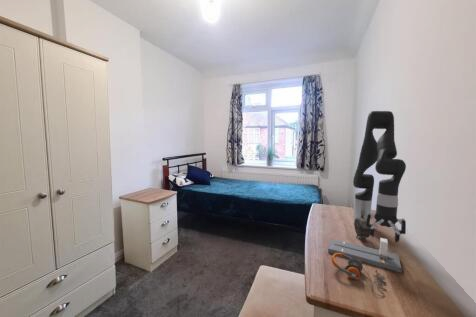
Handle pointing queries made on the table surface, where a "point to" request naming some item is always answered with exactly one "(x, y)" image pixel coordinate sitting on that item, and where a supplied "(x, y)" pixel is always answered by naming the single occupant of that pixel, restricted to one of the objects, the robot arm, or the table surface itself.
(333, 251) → the console
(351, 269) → the headphones
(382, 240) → the fader
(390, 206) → the robot arm
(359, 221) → the alarm clock
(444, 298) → the table surface
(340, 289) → the table surface
